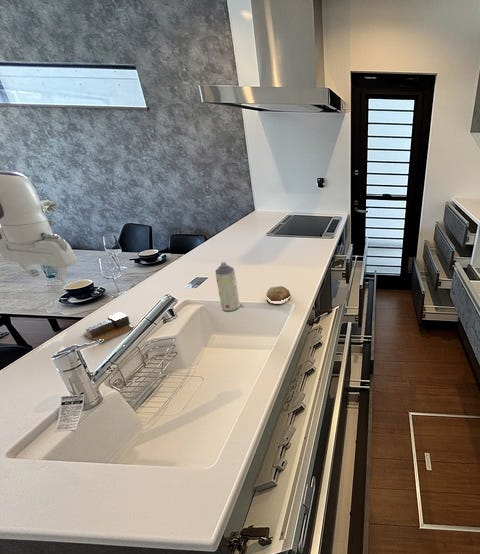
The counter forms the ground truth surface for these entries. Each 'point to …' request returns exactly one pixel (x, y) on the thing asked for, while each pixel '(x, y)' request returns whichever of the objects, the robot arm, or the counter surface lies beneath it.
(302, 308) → the counter surface
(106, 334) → the light flat block
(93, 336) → the dish brush
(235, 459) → the counter surface
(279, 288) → the bread roll
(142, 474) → the counter surface
